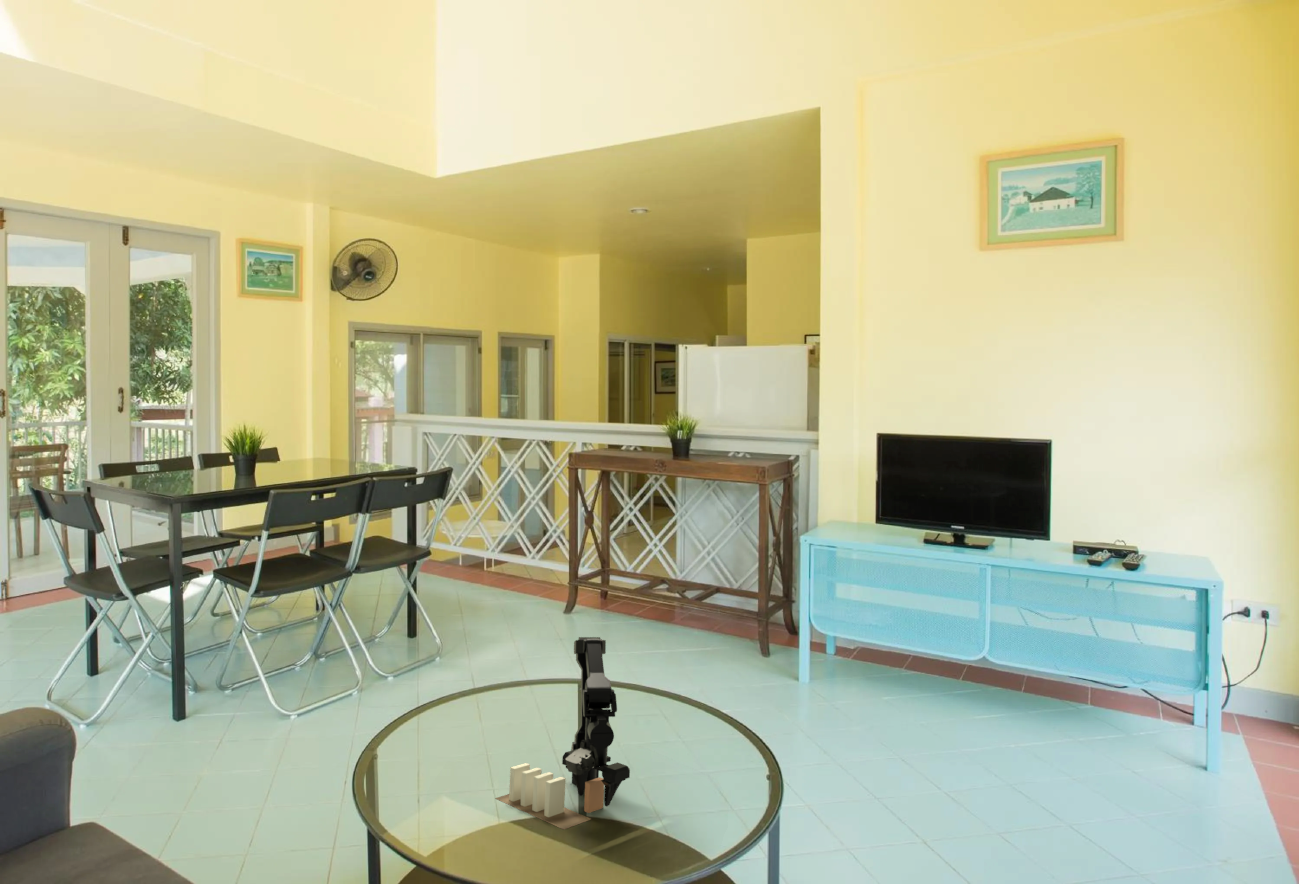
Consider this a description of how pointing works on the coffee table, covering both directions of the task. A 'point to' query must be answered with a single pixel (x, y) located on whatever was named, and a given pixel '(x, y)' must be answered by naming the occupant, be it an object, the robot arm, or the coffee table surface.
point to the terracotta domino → (594, 795)
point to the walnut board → (559, 820)
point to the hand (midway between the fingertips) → (594, 800)
